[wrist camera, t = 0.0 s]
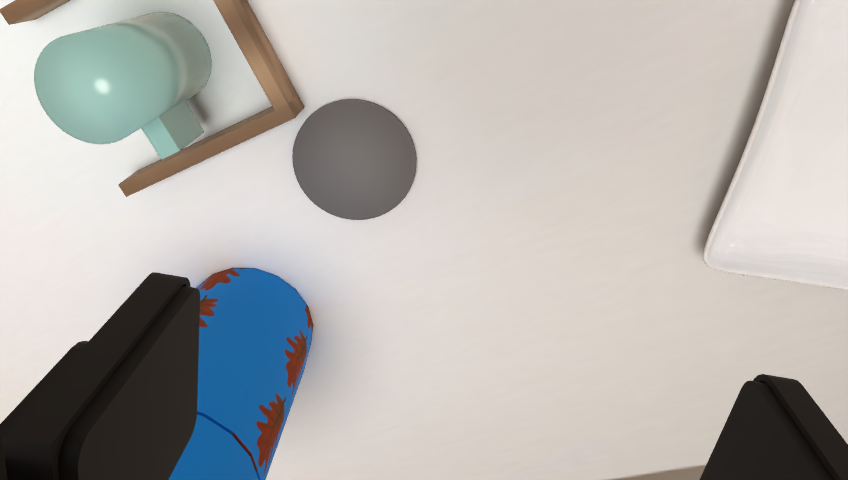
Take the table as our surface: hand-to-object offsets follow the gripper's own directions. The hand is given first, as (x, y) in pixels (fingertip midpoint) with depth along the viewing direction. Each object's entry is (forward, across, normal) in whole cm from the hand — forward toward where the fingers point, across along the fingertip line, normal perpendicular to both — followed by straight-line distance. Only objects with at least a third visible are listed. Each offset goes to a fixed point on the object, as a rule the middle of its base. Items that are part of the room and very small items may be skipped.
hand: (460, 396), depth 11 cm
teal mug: (+37, +19, +5) cm, 42 cm away
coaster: (+37, +6, +9) cm, 39 cm away
